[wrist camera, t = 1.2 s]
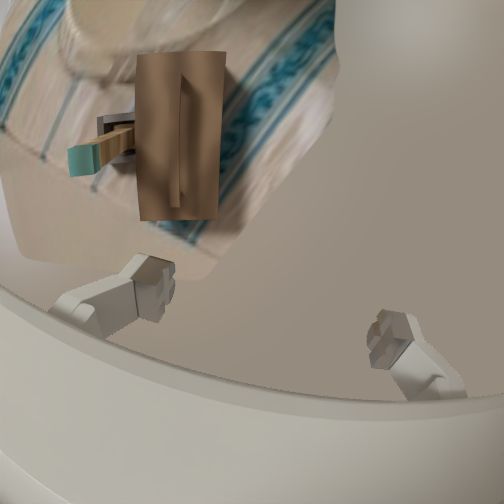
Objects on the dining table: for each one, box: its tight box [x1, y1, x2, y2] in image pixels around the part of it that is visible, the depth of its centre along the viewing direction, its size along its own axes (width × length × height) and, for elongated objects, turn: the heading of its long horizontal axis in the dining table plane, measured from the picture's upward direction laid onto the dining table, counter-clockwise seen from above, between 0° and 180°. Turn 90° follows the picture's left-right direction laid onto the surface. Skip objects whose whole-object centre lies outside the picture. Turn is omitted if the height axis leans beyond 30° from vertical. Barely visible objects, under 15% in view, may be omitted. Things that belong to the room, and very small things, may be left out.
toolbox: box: [97, 51, 226, 221], centre depth 38 cm, size 21×27×12 cm
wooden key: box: [67, 123, 135, 177], centre depth 33 cm, size 4×4×21 cm
